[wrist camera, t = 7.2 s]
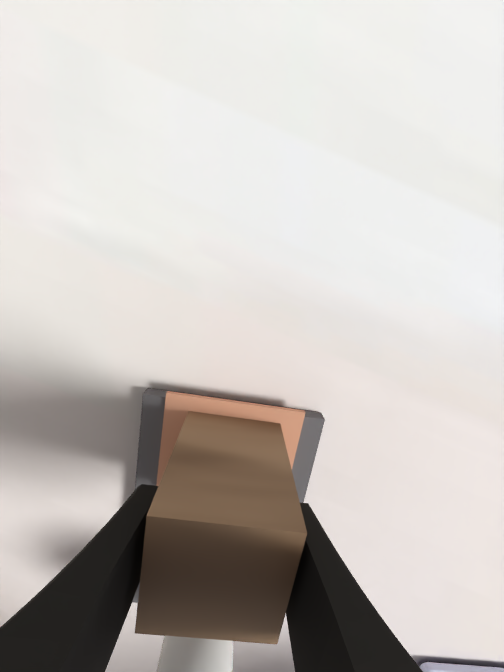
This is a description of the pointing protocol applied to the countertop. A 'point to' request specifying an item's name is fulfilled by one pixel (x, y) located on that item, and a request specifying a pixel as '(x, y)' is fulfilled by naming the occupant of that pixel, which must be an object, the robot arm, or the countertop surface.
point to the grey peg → (195, 655)
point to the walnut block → (222, 534)
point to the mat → (172, 408)
